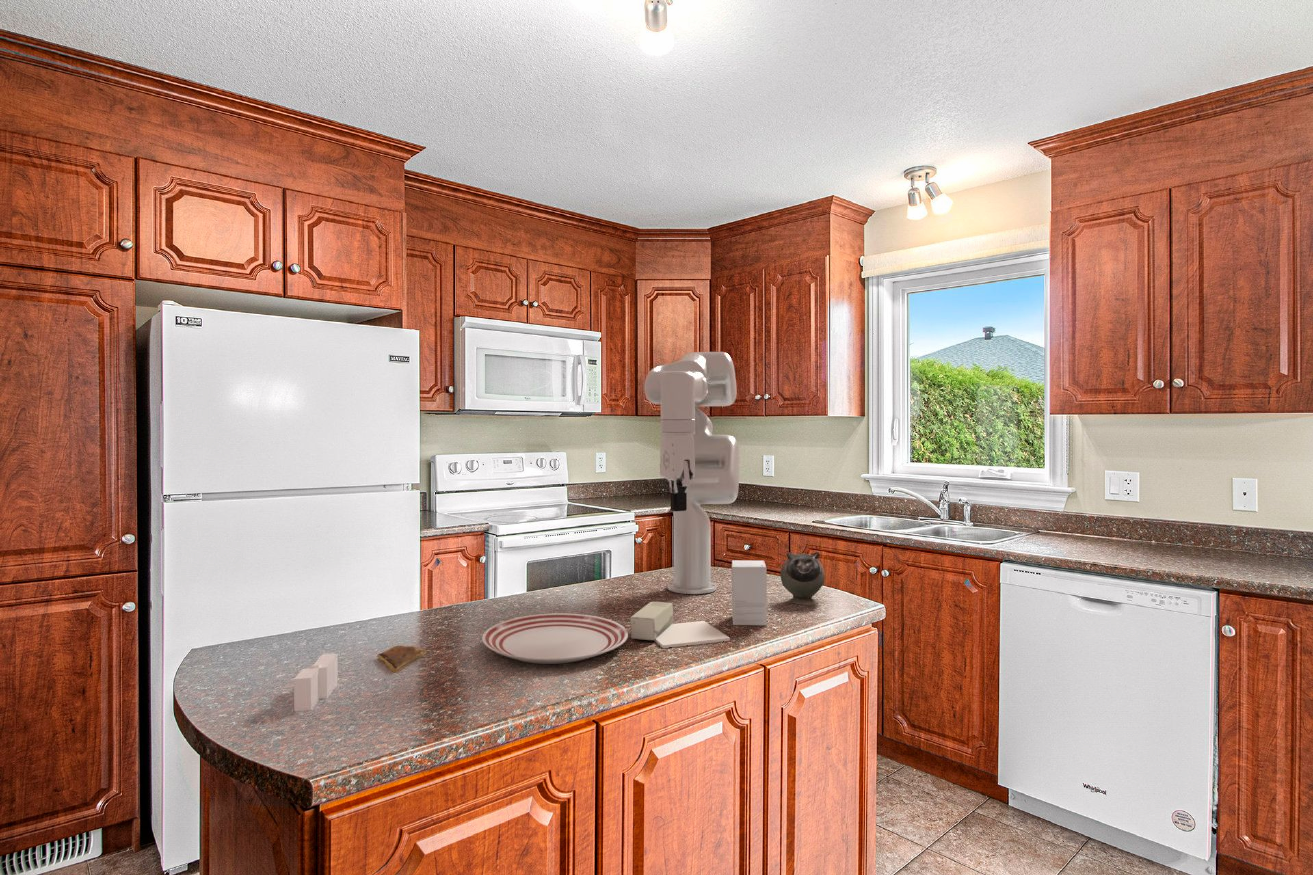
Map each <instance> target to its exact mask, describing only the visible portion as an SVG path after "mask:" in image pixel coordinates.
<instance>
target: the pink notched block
mask: <svg viewBox="0 0 1313 875" xmlns="http://www.w3.org/2000/svg"><path fill="white" fill-rule="evenodd" d="M338 668H339V666H338V653H327V654H321V655H320V656H319V658H318V659H317V660H316V662H315V663H313V665H311V667H309V668H302V669H300V672H298V674H297V675H296V676H295V677H294V679H293V701H294V702H293V704H294V705H293V706H294V707H293V708H294V712H295V713H296V712H309V711H313V709H314V708H315V706H316V705H317V704H318V701H319V700H323V699H328V698H329V697H330V695H331V693H332V692H333V691H334V689H335V688H336V687H337V685H338V683H339V682H338V681H339V680H338V677H339V675H338V673H339V672H338Z"/></svg>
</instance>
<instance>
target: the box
mask: <svg viewBox="0 0 1313 875" xmlns="http://www.w3.org/2000/svg"><path fill="white" fill-rule="evenodd" d="M673 608H674V607H673V603H671V602H663V601H650V602H648V603H647V604H646V605H644V606H643V607H642V608H640V610H638V611H636V612H635V613H634V614H633V615H632V616H630V618H629V620H630V621H629V625H630V638H631V639H634V640H645V641H654V640H655V639H656V638H657V637H658V636H659V635H660V634H661V633H662V632H663V631H664V630H665V629H667V628H668V627H669V626H670V625H671V624H674V609H673Z"/></svg>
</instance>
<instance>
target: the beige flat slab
mask: <svg viewBox="0 0 1313 875" xmlns="http://www.w3.org/2000/svg"><path fill="white" fill-rule="evenodd" d="M653 641H654V643H656V644H657V645H658V646H659V645H660V647H661V648H662V649H670V648H669V647H672V648H679V647H687V645H688V646H689V647H690V646H697V645H704V644H714V643H722V642H723V641H724V642H730V641H731V638H730V637H729V636H728V635H726V633H723V632H722V631H720V630H719V629H717V628H715V627H714V626H712V625H711V624H710V623H708V622H706V621H704V620H699V621H697V620H696V621H690V622H689V621H687V622H681V623H672V624H671V625H670V626H669V627H668V628H667V629H665V630H664V631H663V632H662V633H661V634H660V635H659V636H658V637H657V638H656V639H655V640H653ZM724 642H723V643H724Z"/></svg>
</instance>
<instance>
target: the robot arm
mask: <svg viewBox="0 0 1313 875" xmlns="http://www.w3.org/2000/svg"><path fill="white" fill-rule="evenodd" d="M735 371H736V370H735V365H734V361H733V359H732V358H731V356H730V355H729V354H728V353H727V352H724V351H695V352H694V351H693V352H689V353H687V354H685V355H683V356H682V357H681V358H680V360H678V361H673V362H670V363H666V364H661V365H657V366H654V367H653V368H651V370H650V371H649V372H648V373H647V375H646V377H645V382H644V394H645V395H644V396H646V399H647V400H648V401H649V403H651V404H654V405H655V404H656V405H660V435H661V442H660V452H659V453H660V457H659V458H660V459H659V474H660V477H662V478H664V479H666V481H668V483H669V491H670V494H669V495H670V510H671V511H672V513H673V516H672V517H673V581H670V582H669V583H668V584H667V589H668V590H669V591H670V592H672V593H675V594H676V593H677V594H683V595H701V594H702V595H703V594H710V593H713V592H715V591H716V590H717V588H718V586H717V584H716V583H715V582H713V581H711V580H712V579H711V578H712V577H711V572H712V571H711V568H712V567H711V563H712V562H711V560H712V557H711V552H712V550H711V549H712V548H711V546H712V545H711V533H712V531H711V529H712V528H711V520H710V517H709V516H708V514H707V512H706V511H705V510H704V508H703V507H702V506H701V505H706V504H707V505H729V504H732V503H734V502H735V501H736V499H737V498H738V495H739V480H740V448H739V443H738V441H737V438H736V437H734V436H733V435H730V434H713V428H714V427H713V422H712V421H711V419H710V418H709V417H708V416H707V414H705V413H704V412H703V411H702V410H701V409H699V408H698V407H729V406H731V405H733V404H734V403H735V402H736V400H737V394H738V392H737V389H738V387H737V380H736V372H735Z"/></svg>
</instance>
